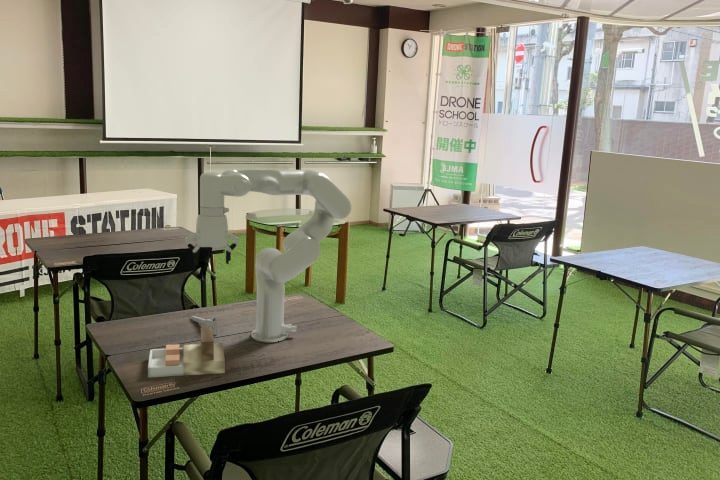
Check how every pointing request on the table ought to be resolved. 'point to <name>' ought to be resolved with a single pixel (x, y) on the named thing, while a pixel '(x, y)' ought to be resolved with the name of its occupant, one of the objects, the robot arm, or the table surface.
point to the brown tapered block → (207, 343)
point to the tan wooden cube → (172, 360)
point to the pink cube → (172, 349)
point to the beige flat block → (197, 366)
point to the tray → (158, 364)
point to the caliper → (207, 323)
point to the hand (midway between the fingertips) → (212, 263)
